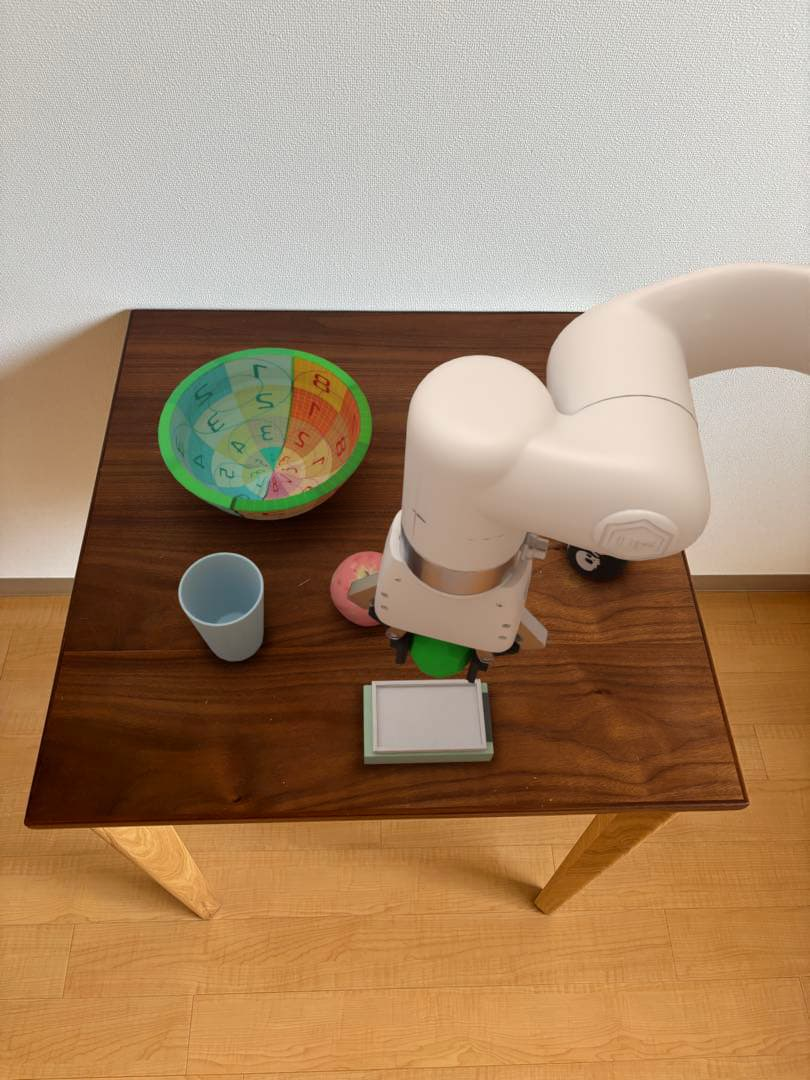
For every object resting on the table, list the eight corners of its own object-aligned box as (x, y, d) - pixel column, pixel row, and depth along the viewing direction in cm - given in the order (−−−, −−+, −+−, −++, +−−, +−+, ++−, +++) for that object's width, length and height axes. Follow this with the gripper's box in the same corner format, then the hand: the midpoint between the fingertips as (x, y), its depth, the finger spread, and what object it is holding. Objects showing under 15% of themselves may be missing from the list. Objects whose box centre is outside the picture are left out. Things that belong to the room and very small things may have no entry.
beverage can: (628, 585, 88) (662, 524, 78) (568, 583, 88) (594, 521, 78) (620, 534, 92) (652, 469, 82) (562, 532, 92) (587, 467, 82)
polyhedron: (468, 689, 64) (475, 664, 60) (406, 685, 64) (408, 660, 60) (469, 631, 67) (476, 604, 63) (409, 627, 67) (412, 600, 63)
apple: (368, 653, 83) (369, 617, 76) (318, 608, 85) (314, 569, 79) (417, 606, 86) (422, 568, 79) (367, 564, 88) (368, 524, 82)
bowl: (233, 384, 102) (221, 323, 93) (400, 439, 98) (403, 381, 89) (138, 521, 90) (115, 466, 82) (323, 590, 87) (318, 540, 78)
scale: (484, 691, 81) (488, 677, 78) (490, 761, 77) (495, 749, 74) (363, 694, 81) (363, 680, 77) (364, 764, 77) (364, 752, 74)
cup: (182, 632, 83) (162, 582, 74) (245, 590, 86) (232, 538, 77) (225, 686, 80) (208, 641, 72) (288, 641, 83) (279, 592, 74)
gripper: (607, 518, 51) (551, 642, 66) (345, 456, 53) (350, 591, 68) (591, 622, 47) (535, 728, 62) (308, 551, 49) (322, 672, 64)
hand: (439, 656), depth 65 cm, fingers closed on polyhedron, 5 cm apart
